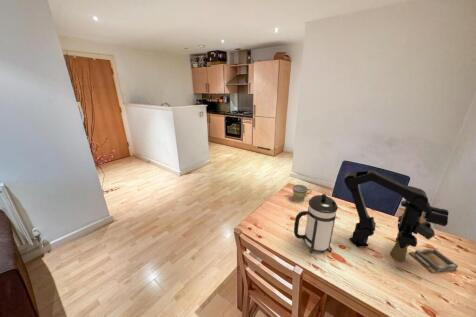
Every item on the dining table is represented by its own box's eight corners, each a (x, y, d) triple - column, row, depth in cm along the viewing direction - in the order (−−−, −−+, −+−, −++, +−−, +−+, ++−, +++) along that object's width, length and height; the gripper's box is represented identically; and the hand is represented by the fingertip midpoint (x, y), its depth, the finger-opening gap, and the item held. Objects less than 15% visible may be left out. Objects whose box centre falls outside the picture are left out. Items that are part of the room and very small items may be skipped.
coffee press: (307, 229, 113) (314, 183, 103) (336, 244, 103) (347, 194, 92) (291, 246, 102) (296, 195, 92) (322, 264, 91) (332, 209, 81)
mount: (431, 273, 86) (433, 268, 85) (408, 253, 97) (410, 249, 96) (455, 270, 88) (458, 265, 87) (430, 251, 98) (432, 246, 97)
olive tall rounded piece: (408, 263, 92) (415, 244, 88) (393, 261, 93) (399, 242, 89) (401, 252, 97) (407, 234, 93) (387, 251, 98) (392, 233, 94)
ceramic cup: (292, 203, 139) (293, 190, 135) (290, 195, 148) (292, 184, 145) (311, 204, 137) (313, 192, 133) (309, 197, 146) (310, 185, 143)
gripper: (439, 236, 75) (426, 267, 81) (434, 213, 89) (423, 240, 95) (402, 224, 82) (392, 253, 87) (402, 204, 96) (394, 230, 101)
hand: (401, 244), depth 92 cm, fingers closed on olive tall rounded piece, 5 cm apart
